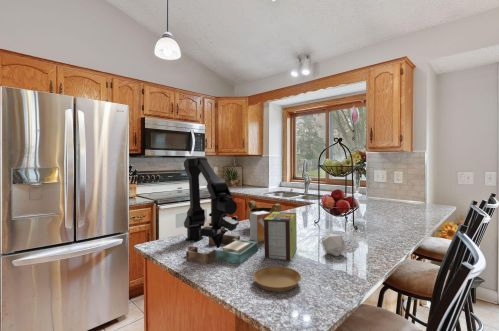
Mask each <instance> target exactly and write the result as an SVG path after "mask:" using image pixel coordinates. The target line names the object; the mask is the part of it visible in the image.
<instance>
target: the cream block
mask: <svg viewBox="0 0 499 331" xmlns="http://www.w3.org/2000/svg"><path fill="white" fill-rule="evenodd" d="M249 246H250V243H247V242H241V241H234V242H232V243H230V244H229V245H227V246H222V250H221V251H227V252H233V253H241V252H242V251H244V250H245V249H247V248H248V247H249Z"/></svg>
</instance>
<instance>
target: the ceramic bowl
mask: <svg viewBox="0 0 499 331" xmlns="http://www.w3.org/2000/svg"><path fill="white" fill-rule="evenodd" d="M247 206H248V212H247V213H248V215H247V217H248V221H249V223H250V213H253V212H260V211H265V212H269V213H272V212H281V209H282V208H281V204H280V203H274V204H273V205H272V206H257V203H256V201H255V200H250V201H248V202H247Z"/></svg>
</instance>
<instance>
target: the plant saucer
mask: <svg viewBox="0 0 499 331" xmlns="http://www.w3.org/2000/svg"><path fill="white" fill-rule="evenodd" d="M252 278H253V280H254V281H255V283H256V284H257V285H258V286H259V287H261V289H263V290H266V291H268V292H274V293H282V292H286V291H287V292H289V291H291V290H292V289H293V288H295V287H296V286H297V285H298V284H299V282H301V279H302V275H301V274H300V273H299V271H297V270H296V269H294V268H290V267H286V266H280V265H279V266H277V265H273V266H265V267H261V268H259V269H258V270H256V271H255V272H253V275H252Z"/></svg>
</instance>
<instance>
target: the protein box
mask: <svg viewBox="0 0 499 331" xmlns="http://www.w3.org/2000/svg"><path fill="white" fill-rule="evenodd" d="M297 231H298V230H297V213H296V212H284V211H283V212H282V211H279V212H272V213H271V214H270V215H268V216H267V217H266V218H265V219H264V241H263V242H264V259H270V260H280V261H287V262H288V261H289V262H290V261H291V260H292V258H293V256H294V255H295V252H296V250H297V248H298V246H297V241H298V240H297Z"/></svg>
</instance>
